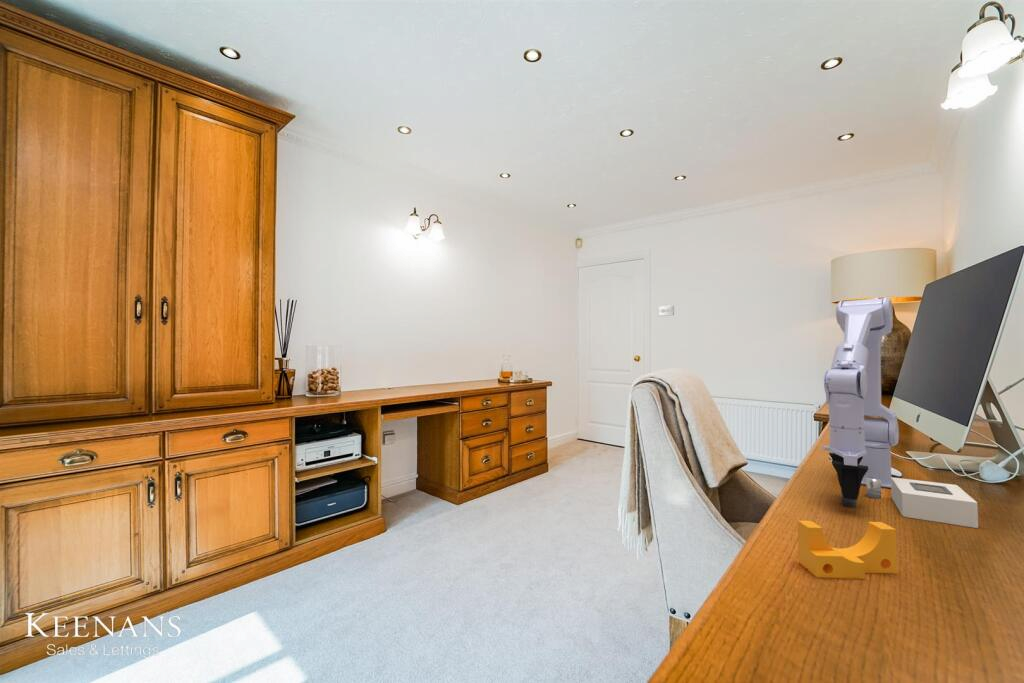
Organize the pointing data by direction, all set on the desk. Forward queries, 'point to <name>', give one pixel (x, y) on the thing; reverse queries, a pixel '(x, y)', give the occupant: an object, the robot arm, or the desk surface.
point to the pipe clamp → (848, 552)
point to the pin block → (934, 502)
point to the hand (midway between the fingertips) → (848, 493)
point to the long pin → (847, 501)
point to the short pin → (873, 487)
